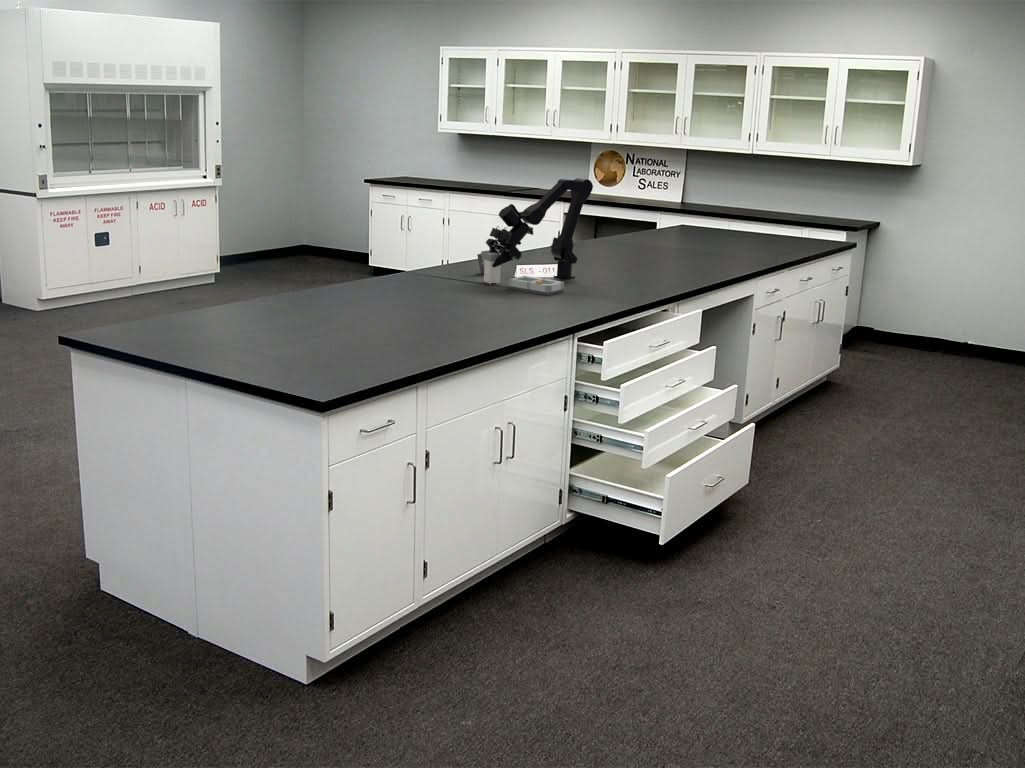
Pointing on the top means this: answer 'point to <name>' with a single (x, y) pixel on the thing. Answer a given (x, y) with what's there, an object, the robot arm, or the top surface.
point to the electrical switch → (482, 260)
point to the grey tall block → (491, 268)
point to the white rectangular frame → (536, 285)
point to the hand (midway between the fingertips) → (489, 265)
